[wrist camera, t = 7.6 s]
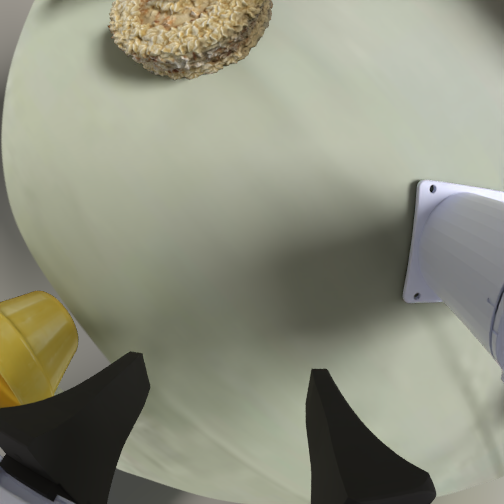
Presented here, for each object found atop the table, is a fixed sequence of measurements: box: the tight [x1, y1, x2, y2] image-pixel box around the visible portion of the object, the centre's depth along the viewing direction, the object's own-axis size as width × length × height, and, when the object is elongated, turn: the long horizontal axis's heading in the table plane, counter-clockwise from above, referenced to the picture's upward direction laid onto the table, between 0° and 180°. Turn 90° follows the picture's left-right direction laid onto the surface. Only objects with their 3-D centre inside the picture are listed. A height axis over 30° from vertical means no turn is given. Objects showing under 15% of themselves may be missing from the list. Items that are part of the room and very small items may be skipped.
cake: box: [108, 0, 273, 80], centre depth 12 cm, size 10×10×5 cm
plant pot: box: [0, 291, 78, 408], centre depth 17 cm, size 10×10×10 cm
